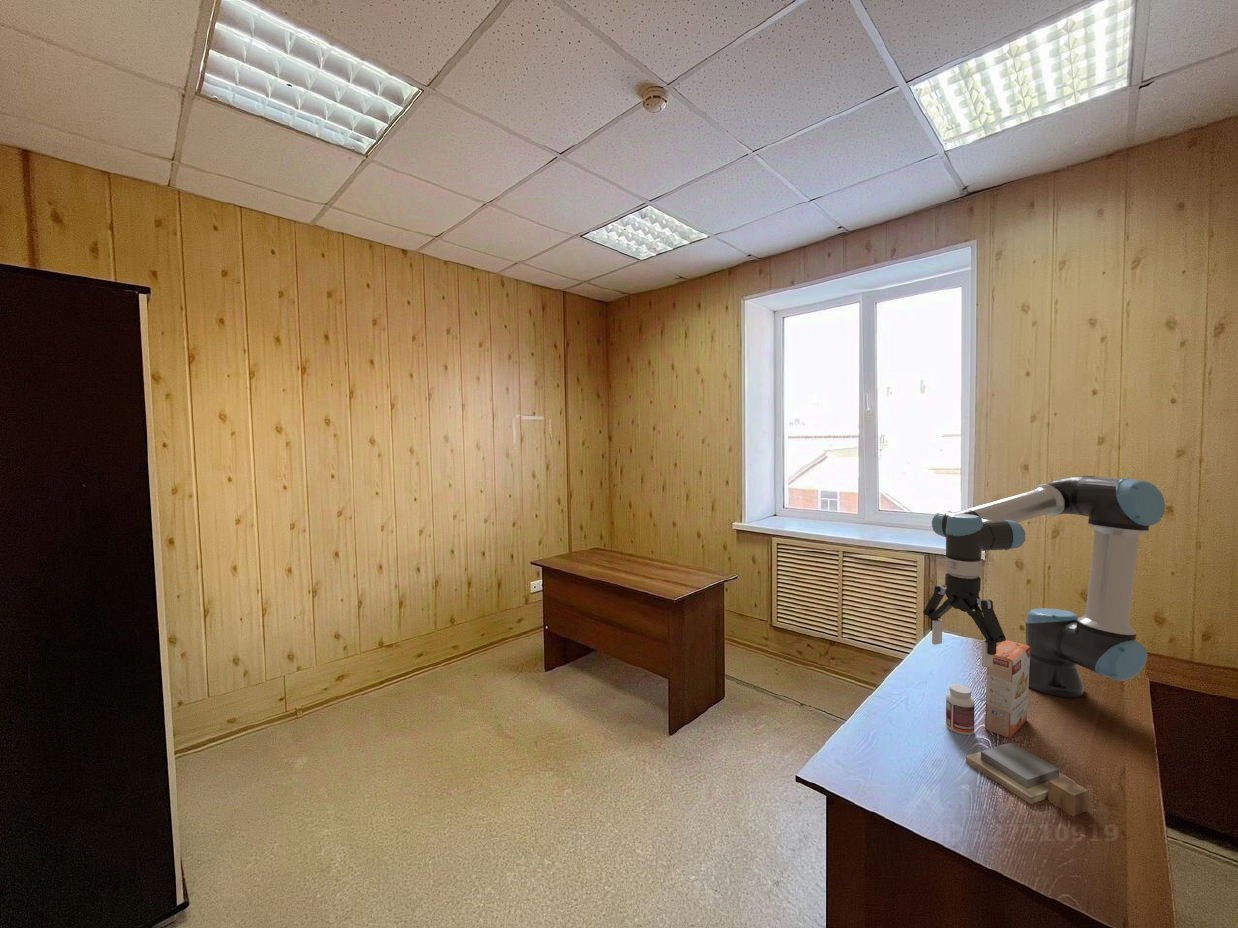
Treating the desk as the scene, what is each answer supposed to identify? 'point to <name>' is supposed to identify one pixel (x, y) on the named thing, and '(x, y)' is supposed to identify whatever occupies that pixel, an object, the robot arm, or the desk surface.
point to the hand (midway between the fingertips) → (960, 654)
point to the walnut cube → (1068, 795)
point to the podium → (1016, 770)
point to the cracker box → (1007, 689)
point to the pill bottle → (960, 710)
